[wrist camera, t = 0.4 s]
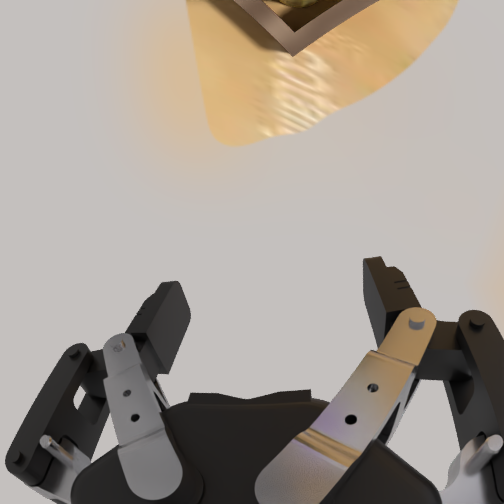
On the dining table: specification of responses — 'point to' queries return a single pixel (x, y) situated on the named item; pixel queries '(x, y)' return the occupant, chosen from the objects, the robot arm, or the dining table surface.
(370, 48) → the dining table surface
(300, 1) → the vase
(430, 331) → the robot arm
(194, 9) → the dining table surface
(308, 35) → the walnut frame
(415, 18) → the dining table surface
